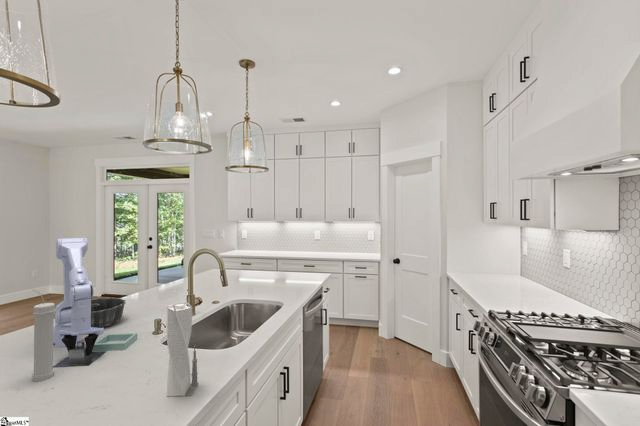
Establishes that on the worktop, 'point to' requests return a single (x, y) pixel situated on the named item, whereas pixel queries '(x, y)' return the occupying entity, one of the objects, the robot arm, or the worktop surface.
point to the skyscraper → (180, 351)
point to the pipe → (43, 341)
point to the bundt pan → (105, 311)
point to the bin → (104, 346)
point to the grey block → (78, 352)
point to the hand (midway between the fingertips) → (80, 355)
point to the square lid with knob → (89, 361)
